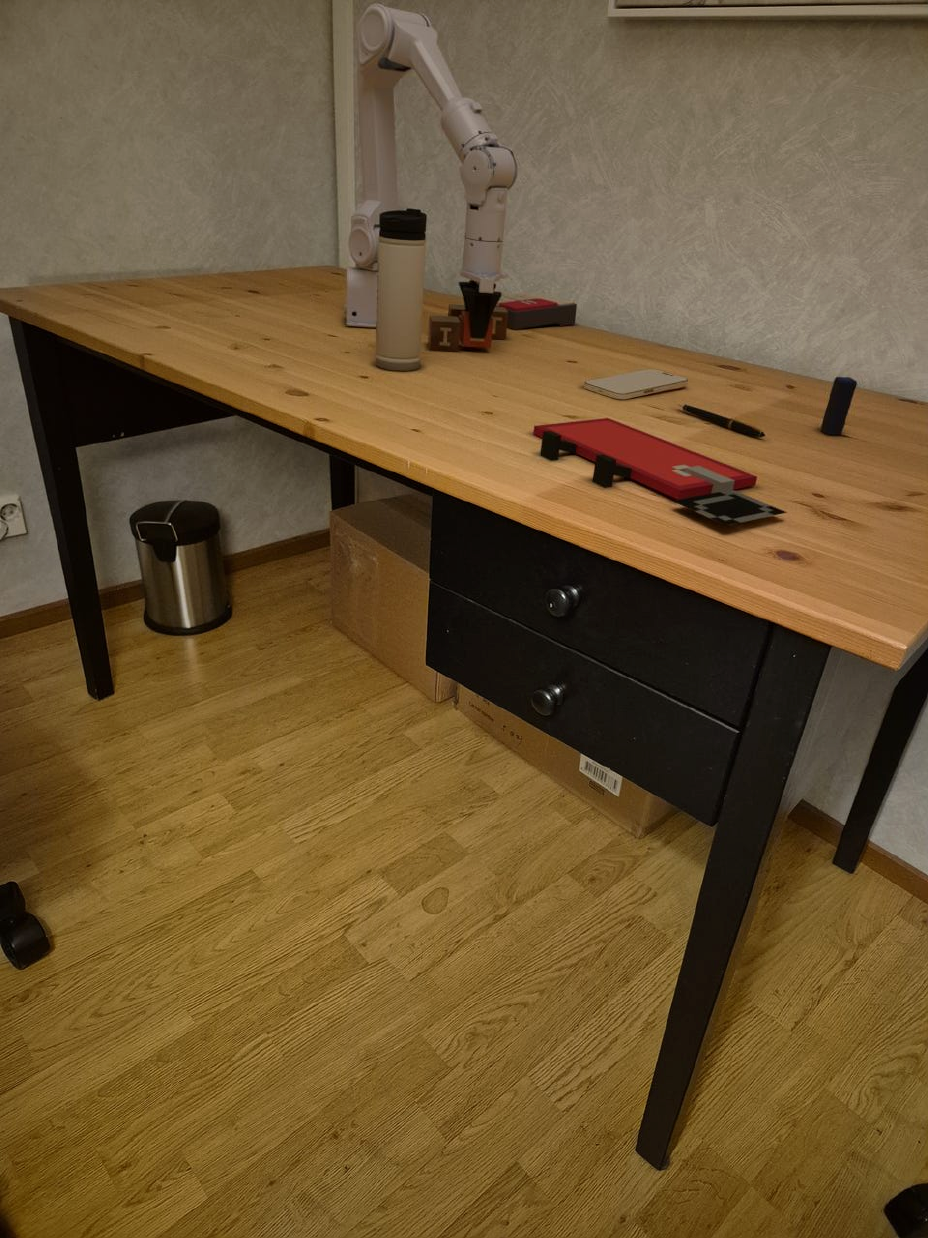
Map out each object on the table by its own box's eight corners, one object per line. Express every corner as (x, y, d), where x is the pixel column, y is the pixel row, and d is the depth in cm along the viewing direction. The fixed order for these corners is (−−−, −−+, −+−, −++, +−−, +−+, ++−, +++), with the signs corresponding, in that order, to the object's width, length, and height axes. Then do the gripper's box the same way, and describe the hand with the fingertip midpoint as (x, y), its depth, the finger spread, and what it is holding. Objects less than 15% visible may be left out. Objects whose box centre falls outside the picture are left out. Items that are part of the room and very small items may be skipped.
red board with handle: (709, 538, 75) (816, 514, 83) (716, 508, 73) (824, 486, 81) (506, 441, 96) (606, 429, 104) (508, 416, 95) (609, 406, 103)
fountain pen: (670, 409, 112) (673, 397, 111) (677, 408, 113) (679, 396, 112) (761, 441, 102) (764, 429, 101) (767, 440, 103) (770, 428, 102)
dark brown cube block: (449, 336, 141) (451, 308, 139) (447, 331, 145) (448, 303, 143) (476, 338, 142) (478, 310, 140) (472, 332, 146) (474, 305, 144)
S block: (462, 346, 132) (464, 316, 130) (459, 339, 136) (461, 310, 133) (491, 347, 132) (493, 318, 130) (487, 341, 136) (489, 312, 134)
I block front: (430, 350, 131) (431, 320, 129) (428, 344, 135) (429, 315, 133) (458, 352, 132) (460, 322, 130) (455, 345, 136) (457, 316, 134)
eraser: (818, 430, 108) (833, 375, 105) (835, 431, 109) (851, 376, 105) (825, 435, 107) (841, 380, 103) (842, 436, 107) (859, 381, 103)
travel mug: (428, 365, 123) (436, 211, 113) (406, 373, 118) (413, 212, 108) (390, 358, 125) (395, 206, 115) (367, 366, 120) (370, 207, 110)
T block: (479, 338, 142) (481, 310, 140) (476, 332, 146) (478, 305, 144) (505, 339, 143) (508, 312, 140) (501, 334, 146) (504, 307, 144)
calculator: (476, 296, 156) (538, 289, 164) (475, 320, 158) (536, 312, 166) (515, 307, 149) (578, 299, 157) (514, 333, 151) (576, 324, 159)
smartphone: (581, 381, 118) (651, 367, 127) (580, 389, 119) (649, 375, 127) (621, 394, 113) (691, 379, 122) (620, 403, 114) (690, 387, 123)
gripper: (518, 247, 121) (508, 346, 127) (503, 235, 133) (495, 326, 140) (468, 243, 120) (461, 343, 127) (458, 232, 132) (451, 323, 139)
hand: (475, 334), depth 133 cm, fingers closed on S block, 4 cm apart
